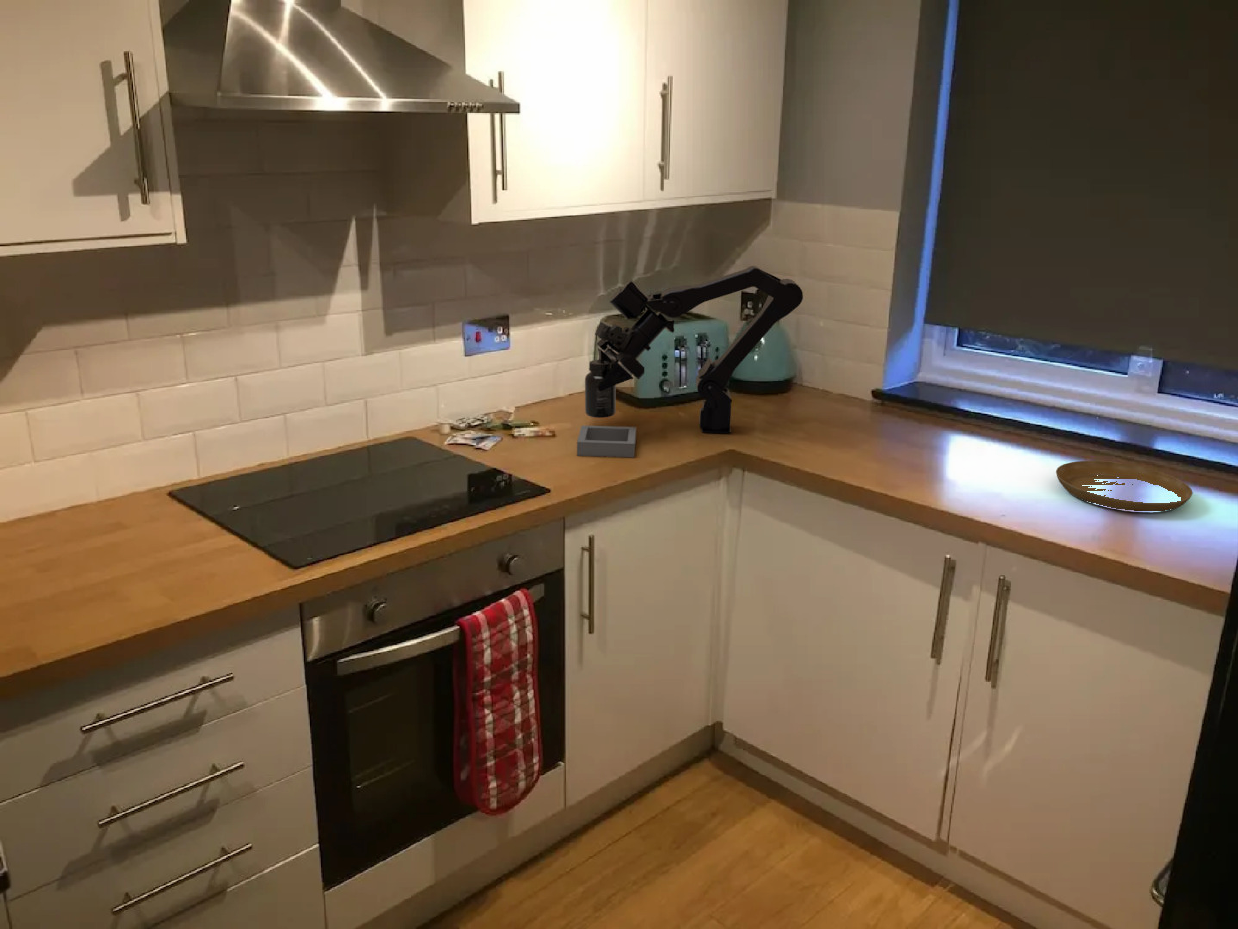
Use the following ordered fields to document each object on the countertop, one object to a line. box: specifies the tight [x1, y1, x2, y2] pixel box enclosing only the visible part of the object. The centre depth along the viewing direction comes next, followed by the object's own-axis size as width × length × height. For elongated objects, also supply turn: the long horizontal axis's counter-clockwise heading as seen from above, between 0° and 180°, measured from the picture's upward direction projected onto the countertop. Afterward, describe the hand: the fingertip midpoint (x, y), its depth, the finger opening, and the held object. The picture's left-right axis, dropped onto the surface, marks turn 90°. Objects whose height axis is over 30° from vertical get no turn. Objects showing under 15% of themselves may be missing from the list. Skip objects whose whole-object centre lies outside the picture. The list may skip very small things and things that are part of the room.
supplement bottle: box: [584, 359, 617, 419], centre depth 233 cm, size 7×7×12 cm
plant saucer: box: [1055, 460, 1194, 511], centre depth 203 cm, size 24×24×3 cm
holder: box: [576, 425, 637, 458], centre depth 225 cm, size 12×12×3 cm
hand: (594, 385), depth 232 cm, fingers closed on supplement bottle, 7 cm apart
